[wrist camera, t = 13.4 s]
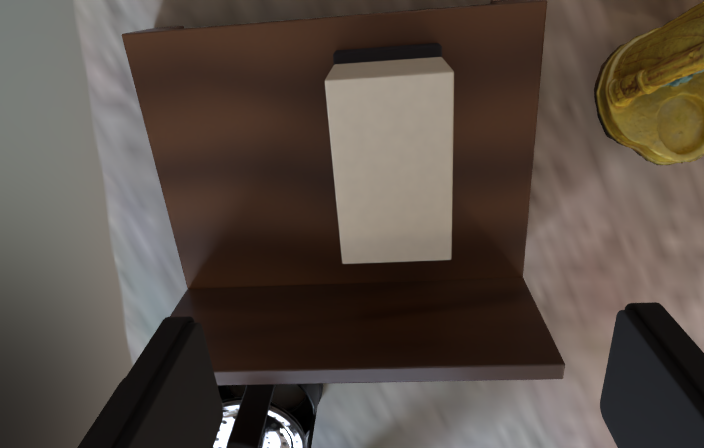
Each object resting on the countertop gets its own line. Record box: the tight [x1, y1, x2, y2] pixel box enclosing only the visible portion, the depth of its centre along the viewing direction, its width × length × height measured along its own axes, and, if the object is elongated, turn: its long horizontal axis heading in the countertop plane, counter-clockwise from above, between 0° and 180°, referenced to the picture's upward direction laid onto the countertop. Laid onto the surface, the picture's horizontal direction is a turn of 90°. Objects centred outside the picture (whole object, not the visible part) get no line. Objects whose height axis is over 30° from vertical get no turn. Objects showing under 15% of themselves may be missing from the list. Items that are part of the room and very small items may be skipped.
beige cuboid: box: [325, 43, 454, 264], centre depth 25 cm, size 12×5×6 cm, turn 4°
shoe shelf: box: [122, 0, 565, 385], centre depth 27 cm, size 17×22×12 cm
